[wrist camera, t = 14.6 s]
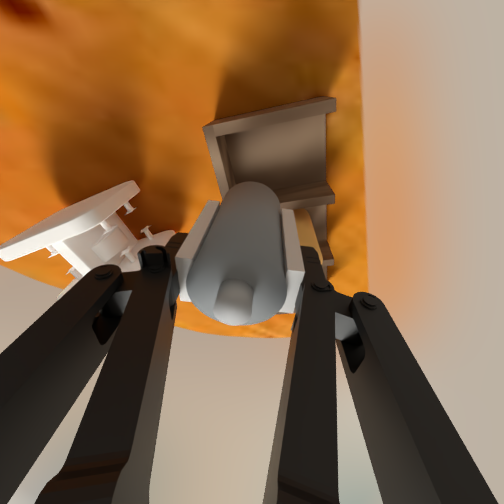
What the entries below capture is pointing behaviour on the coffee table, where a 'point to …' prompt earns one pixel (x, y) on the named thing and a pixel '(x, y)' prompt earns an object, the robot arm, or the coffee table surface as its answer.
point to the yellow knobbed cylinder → (306, 230)
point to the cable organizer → (88, 234)
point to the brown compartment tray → (279, 157)
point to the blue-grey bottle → (241, 259)
